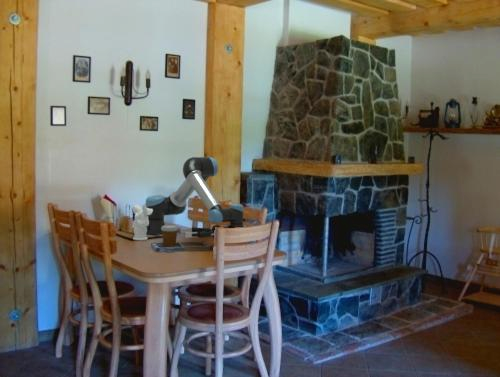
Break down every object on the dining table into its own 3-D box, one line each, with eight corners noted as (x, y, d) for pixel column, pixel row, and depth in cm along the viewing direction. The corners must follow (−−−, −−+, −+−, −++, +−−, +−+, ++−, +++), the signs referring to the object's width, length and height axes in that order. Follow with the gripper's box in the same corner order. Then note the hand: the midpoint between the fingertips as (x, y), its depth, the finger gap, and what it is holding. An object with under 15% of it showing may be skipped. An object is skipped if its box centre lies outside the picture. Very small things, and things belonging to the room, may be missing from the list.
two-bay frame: (150, 245, 326) (150, 242, 326) (204, 243, 336) (204, 240, 336) (156, 252, 307) (156, 249, 307) (212, 250, 317) (213, 247, 317)
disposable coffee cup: (157, 247, 321) (157, 226, 320) (169, 245, 329) (169, 224, 328) (169, 250, 315) (169, 228, 314) (181, 247, 323) (182, 226, 322)
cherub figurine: (129, 238, 346) (129, 201, 345) (148, 236, 354) (148, 201, 352) (138, 241, 337) (139, 203, 335) (157, 239, 344) (158, 202, 342)
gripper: (225, 242, 316) (187, 243, 309) (214, 234, 340) (178, 235, 333) (226, 229, 315) (187, 229, 309) (214, 222, 339) (178, 222, 332)
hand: (182, 232), depth 321 cm, fingers open, 13 cm apart
